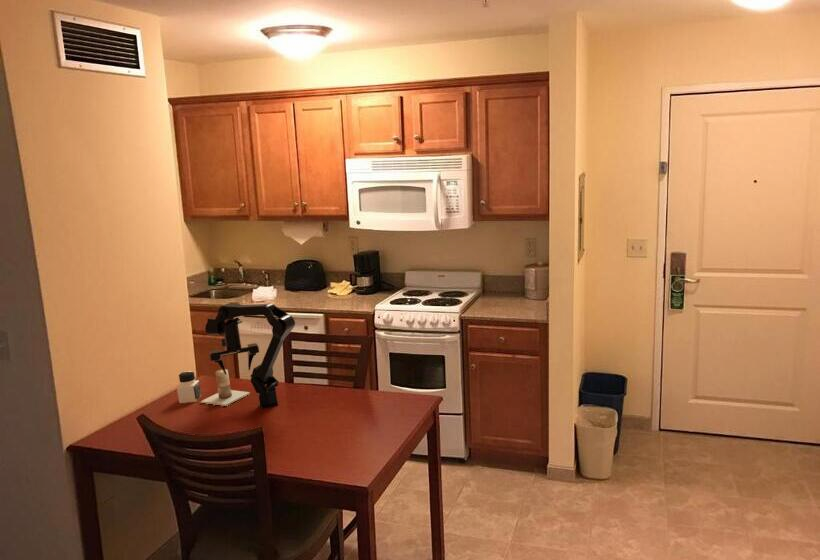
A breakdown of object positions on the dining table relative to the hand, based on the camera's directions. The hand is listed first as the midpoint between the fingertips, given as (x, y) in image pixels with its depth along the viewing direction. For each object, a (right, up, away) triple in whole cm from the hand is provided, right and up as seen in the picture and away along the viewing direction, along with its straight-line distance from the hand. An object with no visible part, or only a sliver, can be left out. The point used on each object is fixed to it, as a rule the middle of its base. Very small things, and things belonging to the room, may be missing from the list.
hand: (237, 372), depth 266 cm
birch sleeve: (-7, -11, +9) cm, 16 cm away
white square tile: (-7, -12, +9) cm, 17 cm away
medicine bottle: (-23, -13, +13) cm, 29 cm away
